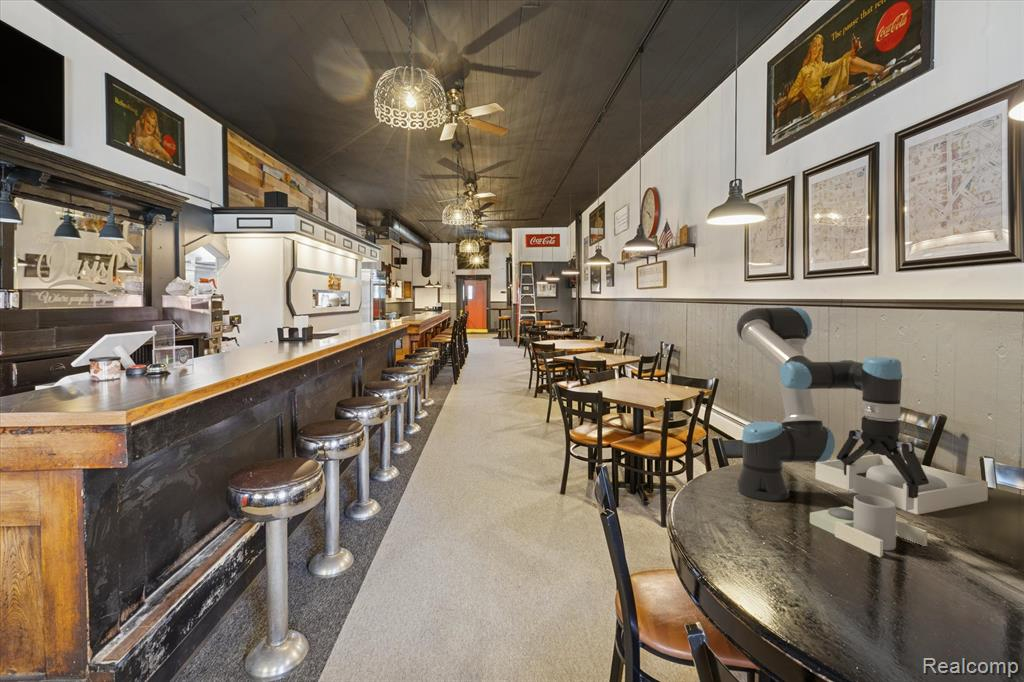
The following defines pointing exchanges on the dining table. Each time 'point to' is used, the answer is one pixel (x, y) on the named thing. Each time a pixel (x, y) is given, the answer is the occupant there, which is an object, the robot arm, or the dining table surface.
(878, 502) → the mug
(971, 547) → the dining table surface
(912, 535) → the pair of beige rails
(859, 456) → the robot arm
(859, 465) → the shallow rectangular tray
